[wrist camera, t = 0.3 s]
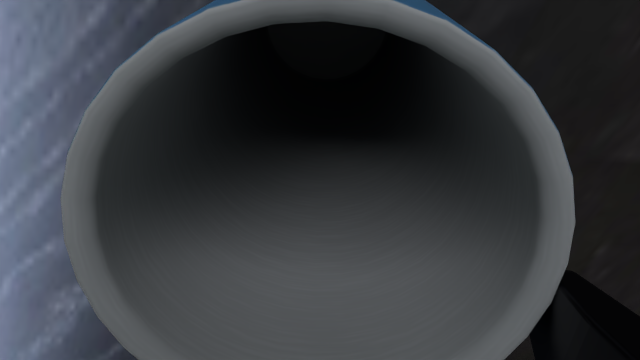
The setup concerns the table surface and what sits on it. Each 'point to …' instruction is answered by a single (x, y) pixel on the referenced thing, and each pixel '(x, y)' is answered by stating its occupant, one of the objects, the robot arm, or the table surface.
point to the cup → (317, 189)
